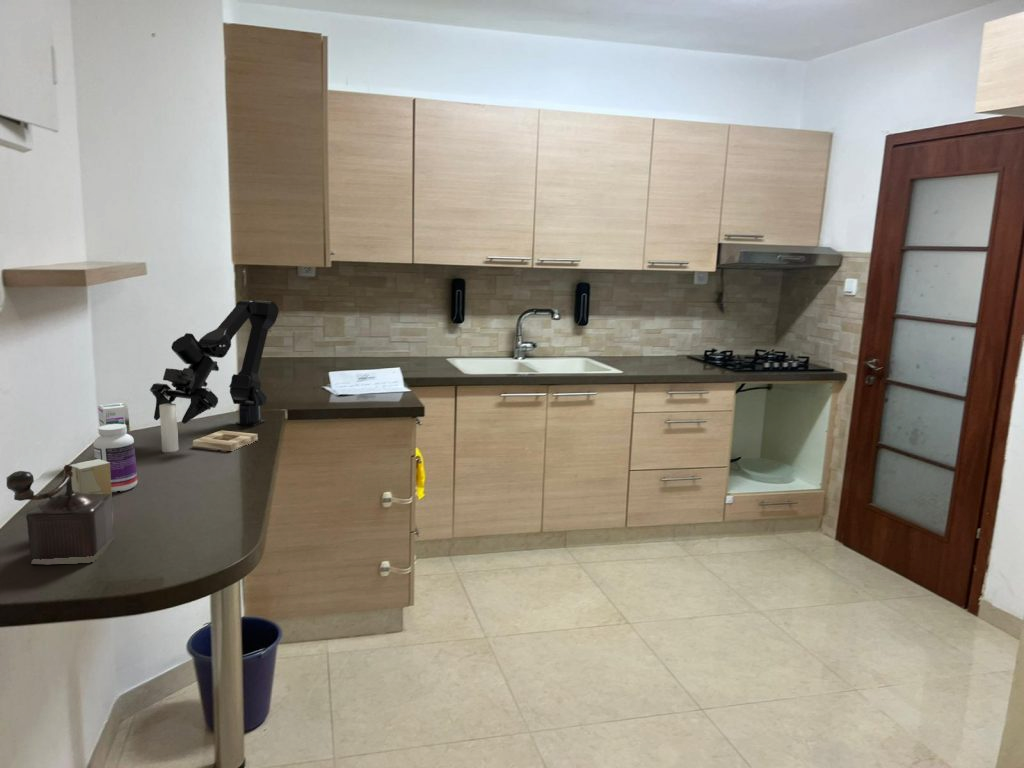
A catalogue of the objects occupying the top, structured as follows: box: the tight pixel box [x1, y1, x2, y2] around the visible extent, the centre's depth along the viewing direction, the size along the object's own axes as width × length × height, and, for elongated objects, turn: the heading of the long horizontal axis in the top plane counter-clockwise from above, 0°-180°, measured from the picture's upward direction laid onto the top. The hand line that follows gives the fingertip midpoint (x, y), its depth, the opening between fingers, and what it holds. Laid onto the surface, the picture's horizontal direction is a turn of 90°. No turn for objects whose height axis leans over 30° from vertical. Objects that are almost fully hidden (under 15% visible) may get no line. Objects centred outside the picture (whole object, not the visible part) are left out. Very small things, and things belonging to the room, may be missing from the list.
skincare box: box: [70, 459, 114, 518], centre depth 142 cm, size 6×4×12 cm
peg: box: [159, 402, 180, 453], centre depth 192 cm, size 4×4×12 cm
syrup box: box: [97, 402, 131, 435], centre depth 182 cm, size 6×6×14 cm
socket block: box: [192, 430, 259, 452], centre depth 200 cm, size 12×12×2 cm
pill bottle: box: [92, 424, 138, 493], centre depth 162 cm, size 8×8×14 cm
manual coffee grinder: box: [6, 463, 115, 561], centre depth 125 cm, size 16×11×18 cm
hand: (169, 421), depth 192 cm, fingers open, 9 cm apart
